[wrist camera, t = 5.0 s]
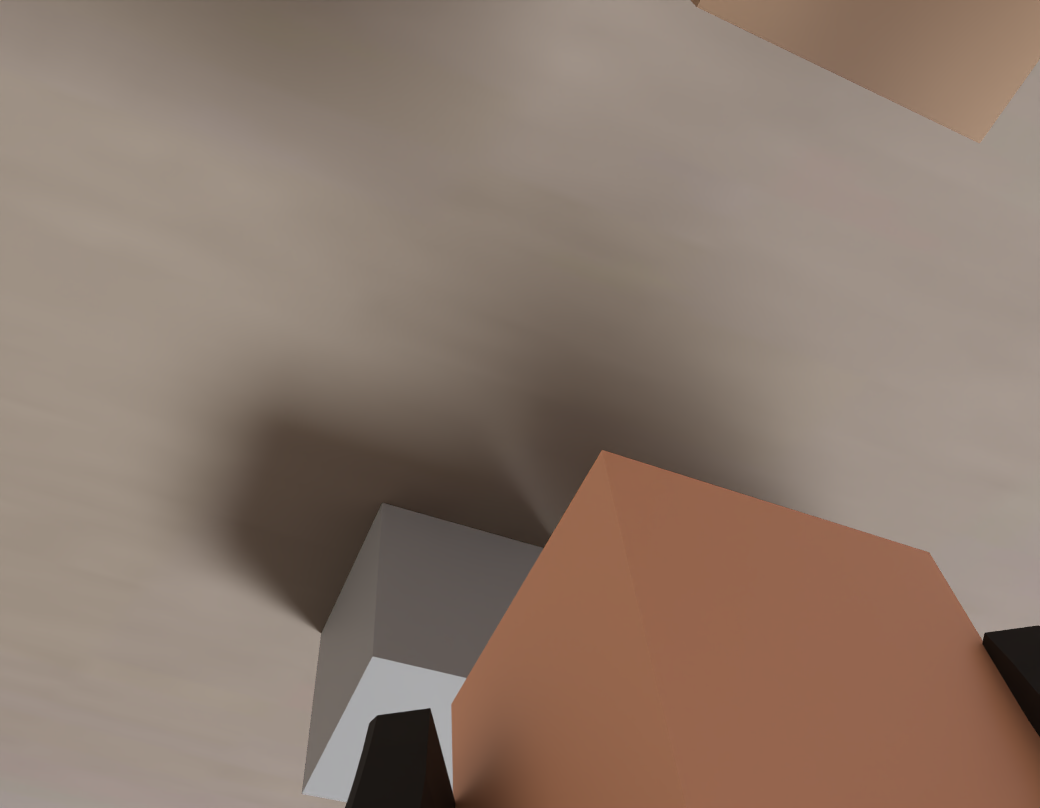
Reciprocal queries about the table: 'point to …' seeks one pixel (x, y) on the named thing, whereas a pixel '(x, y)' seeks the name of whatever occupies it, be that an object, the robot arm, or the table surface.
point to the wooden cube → (908, 49)
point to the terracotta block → (733, 666)
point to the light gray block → (406, 634)
